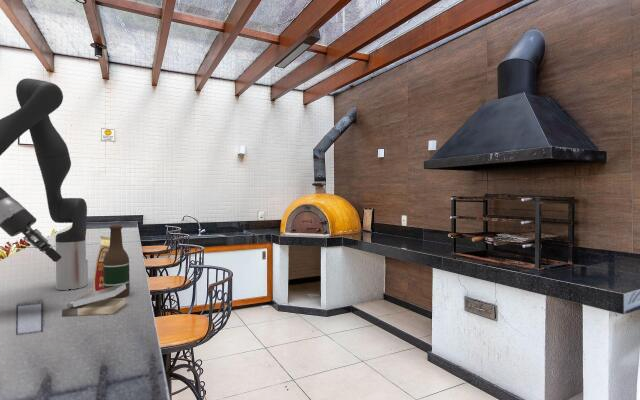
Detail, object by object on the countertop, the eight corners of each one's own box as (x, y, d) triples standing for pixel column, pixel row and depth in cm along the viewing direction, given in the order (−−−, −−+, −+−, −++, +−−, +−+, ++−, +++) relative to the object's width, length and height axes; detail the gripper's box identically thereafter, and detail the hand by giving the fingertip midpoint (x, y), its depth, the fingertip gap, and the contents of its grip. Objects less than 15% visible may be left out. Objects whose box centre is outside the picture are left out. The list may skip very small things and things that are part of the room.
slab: (66, 303, 102) (113, 290, 104) (82, 294, 111) (125, 283, 113) (68, 308, 102) (114, 296, 104) (83, 299, 111) (126, 288, 113)
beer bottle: (134, 294, 124) (134, 224, 124) (113, 300, 117) (112, 226, 117) (119, 292, 128) (118, 224, 127) (98, 297, 121) (97, 225, 120)
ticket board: (61, 316, 102) (61, 309, 102) (77, 306, 111) (77, 300, 111) (113, 313, 104) (113, 306, 104) (125, 304, 113) (125, 297, 113)
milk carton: (93, 296, 123) (92, 237, 123) (95, 289, 131) (94, 234, 131) (123, 292, 127) (123, 235, 127) (124, 286, 135) (123, 233, 135)
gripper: (2, 226, 108) (48, 268, 112) (-7, 223, 97) (44, 269, 101) (27, 210, 111) (71, 251, 116) (21, 205, 100) (69, 250, 105)
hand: (58, 259), depth 109 cm, fingers closed
